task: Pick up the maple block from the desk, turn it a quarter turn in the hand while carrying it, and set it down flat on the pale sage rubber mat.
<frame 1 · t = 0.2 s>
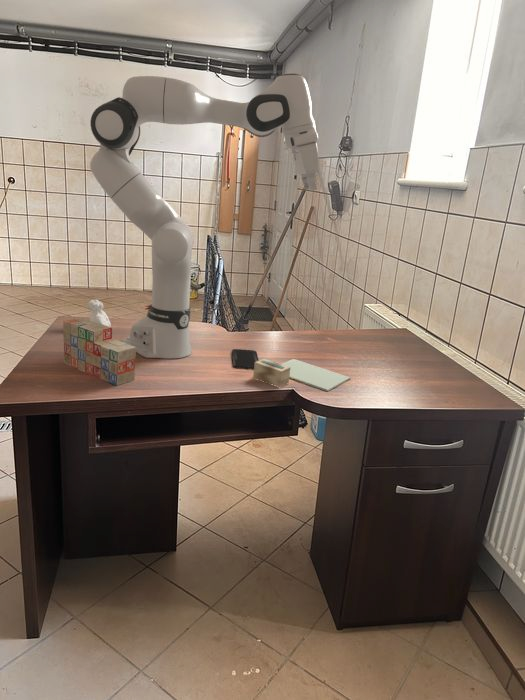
hand: (310, 189, 146), 52 cm above the table, tool tilted 20°, fingers open, 8 cm apart
stack of blocks: (98, 372, 138), on the table
rubber mat: (309, 374, 152), on the table
phone: (245, 361, 159), on the table
maple block: (270, 381, 144), on the table
bust: (99, 330, 171), on the table
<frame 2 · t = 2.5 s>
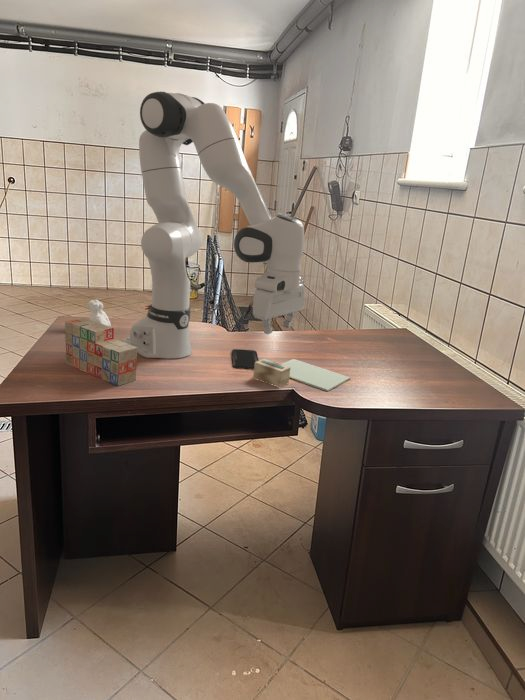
hand: (277, 330, 139), 15 cm above the table, tool pointing down, fingers open, 8 cm apart
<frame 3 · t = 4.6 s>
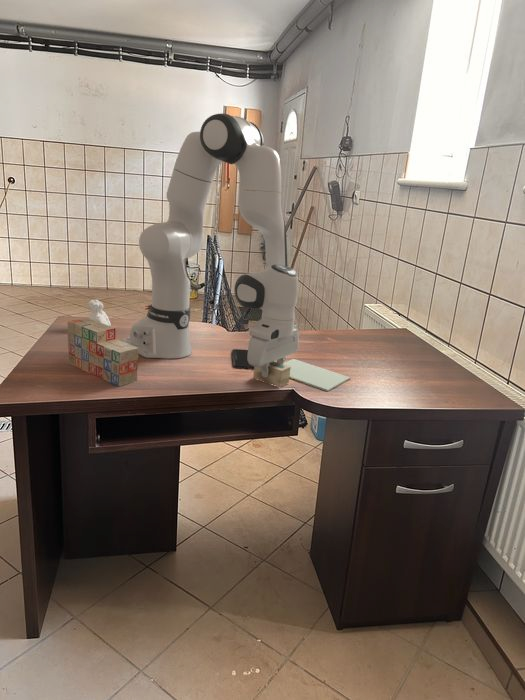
hand: (271, 373, 144), 2 cm above the table, tool pointing down, fingers closed on maple block, 4 cm apart
maple block: (270, 380, 144), on the table, touching gripper
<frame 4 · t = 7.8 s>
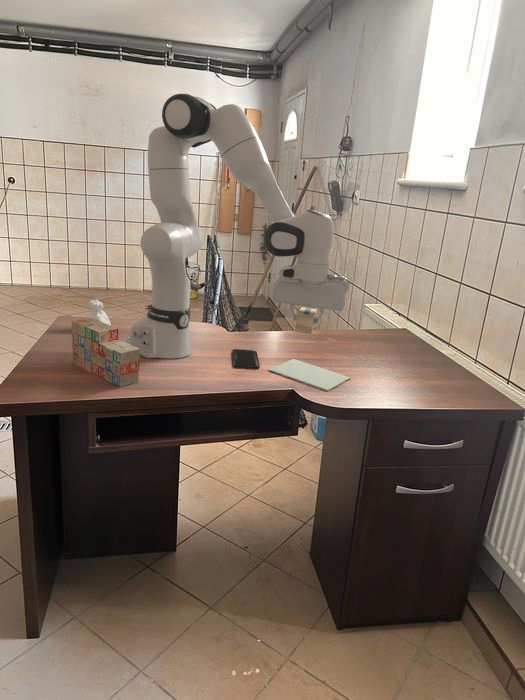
hand: (306, 321, 144), 17 cm above the table, tool pointing down, fingers closed on maple block, 4 cm apart
maple block: (305, 328, 145), point 15 cm above the table, touching gripper
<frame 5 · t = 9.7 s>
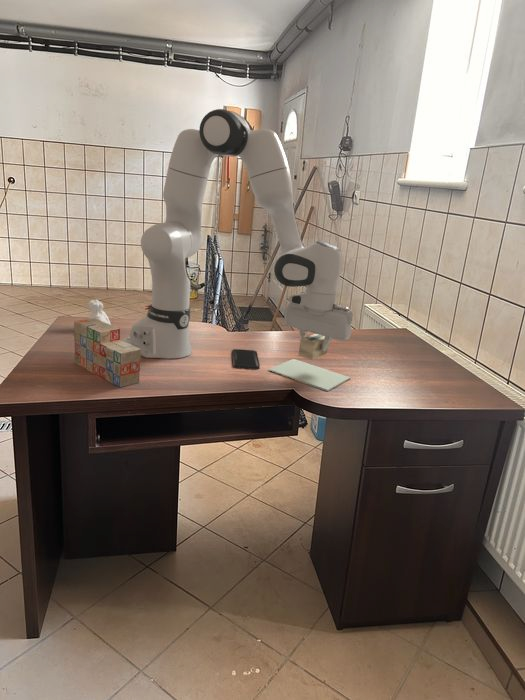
hand: (314, 347, 149), 9 cm above the table, tool pointing down, fingers closed on maple block, 4 cm apart
maple block: (313, 354, 150), point 6 cm above the table, touching gripper
when the fingers open (4 cm above the table, at t = 11.3 s): maple block drops 1 cm, resting on rubber mat.
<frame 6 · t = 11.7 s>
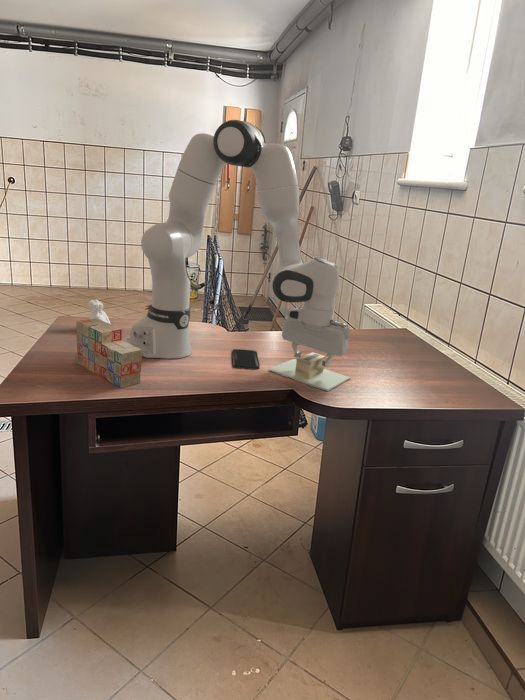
hand: (311, 361, 151), 4 cm above the table, tool pointing down, fingers open, 8 cm apart
maple block: (309, 373, 152), resting on rubber mat
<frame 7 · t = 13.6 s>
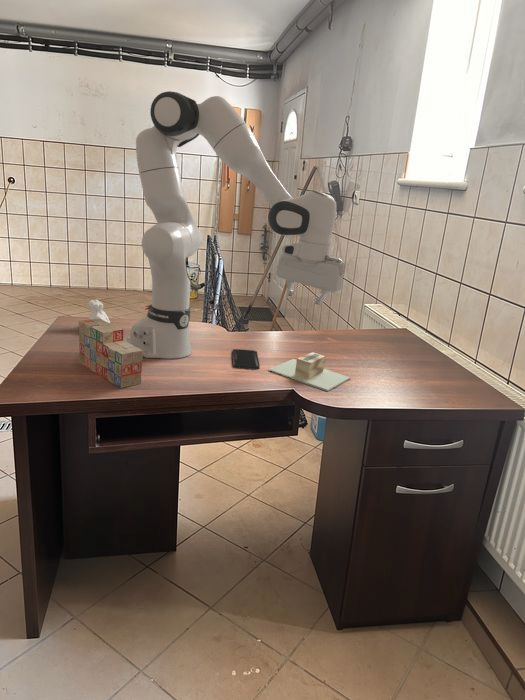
hand: (304, 300, 148), 21 cm above the table, tool pointing down, fingers open, 8 cm apart
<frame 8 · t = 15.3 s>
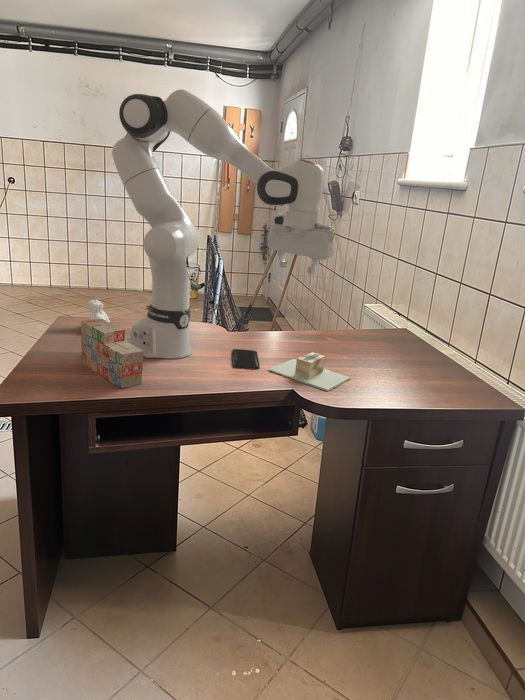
hand: (296, 270, 150), 29 cm above the table, tool pointing down, fingers open, 8 cm apart
at the end: maple block inside the target area on the rubber mat (0.1 cm from its centre), point 0.5 cm above the rubber mat's base; maple block tilted 0°; the gripper is holding nothing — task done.
